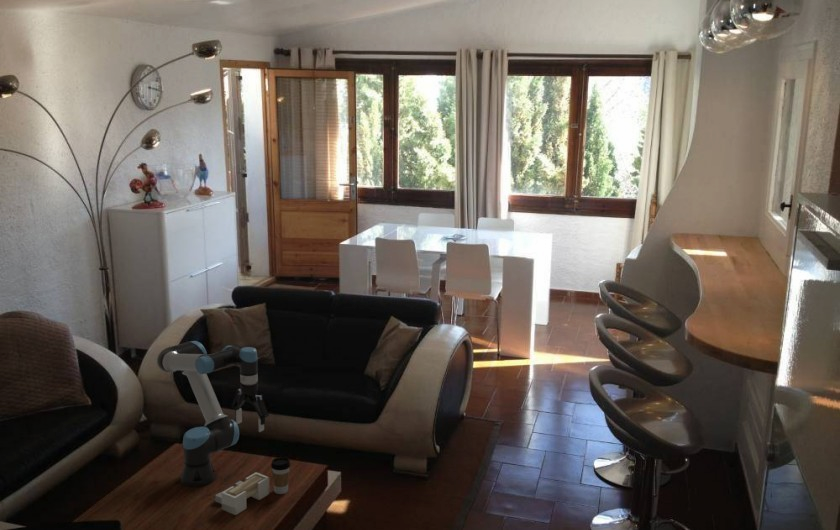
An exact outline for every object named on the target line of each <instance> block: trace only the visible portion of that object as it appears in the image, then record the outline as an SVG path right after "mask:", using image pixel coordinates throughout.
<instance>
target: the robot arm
mask: <svg viewBox="0 0 840 530" xmlns="http://www.w3.org/2000/svg"><path fill="white" fill-rule="evenodd" d="M258 359H259V356H258V351H257V349H256V348H255V347H250V346H245V347H242V348H239V347H237V346H235V345H234V346H233V345H226V346H225V347H223V348H222V350H220V351H217V352H214V353H209V354H208V352H207V349H206V348H205V347H204V345H203V343H201V342H199V341H197V340H193V341H192V340H191V341H185V342H184V343H180V344H176V345H172V346H168V347H165V348H164V349H163V350H161V351H160V352H159V354H158V355H157V359H156V361H157V362H156V364H157V366H158V368H159V369H160V370H161V371H163V372H165V373H175V372H178V371H181V372H180V373H182V375H184V376H186V378H187V379H188V382H189V384H190V387H191V389H192V392H193V394H194V397H195V398H196V401H197V403H198V406H199V409H200V412H201V414H202V415H203V418H204V421H205V423H204V424H203V425H204V426H195V427H193V428H190V429H189V430H187V431H186V432H185V433H184V434H183V437H182V439H183V440H182V446H183V448H182V449H183V462H184V463H183V468H182V471H181V474H180V482H181V484H183V485H184V486H186V487H193V488H194V487H196V488H197V487H198V488H199V487H203V486H205V485H209V484H210V483H212V482H213V481H214V480H215V479H216V471H215V469H214V466H213V464H212V461H211V455H212V454H214V453H218V452H220V451H222V450H224V449H227V448H230V447H231V446H234V445H236V444H237V443H238V441H239V438H240V428H239V425H240V424H241V423H243V413H242V412H243V409H242V406H243V405H244V404H245V403H249V404H250V405H251V406H252V407H254V410H255V411H256V413H257V414H258V420H257V421H258V423H257V424H258V432H259V433H261V432H263V431H265V424H266V418H268V417H269V415H270V414H269V412H268V409H267V407H266V403H265V401H264V396H263V394H260V395H258V390H259V383H258V382H259V378H258V377H259V376H258V374H259V372H258V371H259V368H258V364H259V363H258ZM231 366H235V367H238V368H239V373H240V374H239V376H240V377H239V379H240V381H239V382H240V388H238V389H236V390H235V395H234V399H233V400H232V403H231V408H233V409H234V411H235V413H234V414H235V416H236V420H234V419H230V418H229V415H227V414H224V412H223V410H222V407H221V404H220V402H219V401H218V398H217V395H216V393H215V390H214V388H213V386H212V383H211V382H210V378H209V377H208V374H211V373H212V372H216V371H219V370H221V369H222V370H223V369H226V368H229V367H231ZM238 424H239V425H238Z"/></svg>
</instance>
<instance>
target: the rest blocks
mask: <svg viewBox="0 0 840 530" xmlns="http://www.w3.org/2000/svg"><path fill="white" fill-rule="evenodd" d="M243 482H244V481H242V480H238V481H237V482H235V483H234V488H235V487H237V486H238V485H240V484H242V483H243ZM221 493H222V491H221V492H219V493H217V494H215V495H214V496H215V497H214V499H215V502H216V503H218V504H220V505H222V497H221Z"/></svg>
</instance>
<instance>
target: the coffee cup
mask: <svg viewBox="0 0 840 530" xmlns="http://www.w3.org/2000/svg"><path fill="white" fill-rule="evenodd" d="M270 467H271V472H272V474H271V475H272V482H273V490H274V493H275V494H277V495H284V494H287V493H288V492H289V481H290V467H291V461H290V458H289V457H285V456H283V457H282V456H281V457H276V458H275V457H274V458H273V459H272V461H271V465H270Z"/></svg>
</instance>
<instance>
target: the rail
mask: <svg viewBox="0 0 840 530" xmlns="http://www.w3.org/2000/svg"><path fill="white" fill-rule="evenodd" d="M261 480H262V478H260V477H257V476H253V477H252V478H250V479H248V480H247V481H246V480H244V481H242V482H243V483H242V484H240V485H238V486H237V487H235V486H234V488H233V489H232V490H230V491H229V494H230V495H233V496H237V495H238V494H240V493H242V492H243V491H246V500H247V499H249V498H250V497H251V496H252V495H253V494H255V493H257V492H258V485H257V483H258V482H260V481H261Z"/></svg>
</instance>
